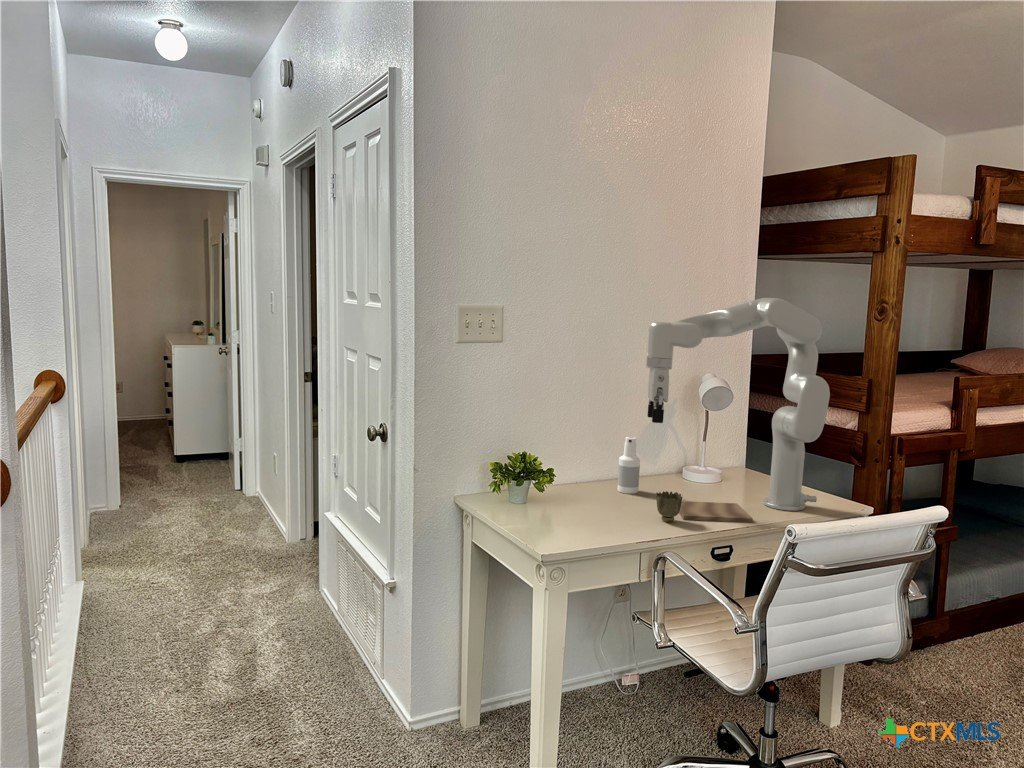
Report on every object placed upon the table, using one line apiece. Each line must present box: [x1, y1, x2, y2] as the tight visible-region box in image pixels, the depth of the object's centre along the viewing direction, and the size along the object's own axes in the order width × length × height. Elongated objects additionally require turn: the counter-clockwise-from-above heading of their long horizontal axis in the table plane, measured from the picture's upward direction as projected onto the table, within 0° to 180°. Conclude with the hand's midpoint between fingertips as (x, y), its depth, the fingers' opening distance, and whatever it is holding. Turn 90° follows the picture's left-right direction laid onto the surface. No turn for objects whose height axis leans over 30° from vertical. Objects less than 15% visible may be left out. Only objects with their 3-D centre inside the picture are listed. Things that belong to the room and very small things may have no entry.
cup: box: [655, 490, 683, 523], centre depth 218 cm, size 8×7×8 cm
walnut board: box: [678, 500, 754, 523], centre depth 229 cm, size 20×16×1 cm
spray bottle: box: [616, 436, 641, 495], centre depth 250 cm, size 7×7×18 cm
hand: (655, 420), depth 229 cm, fingers open, 9 cm apart
